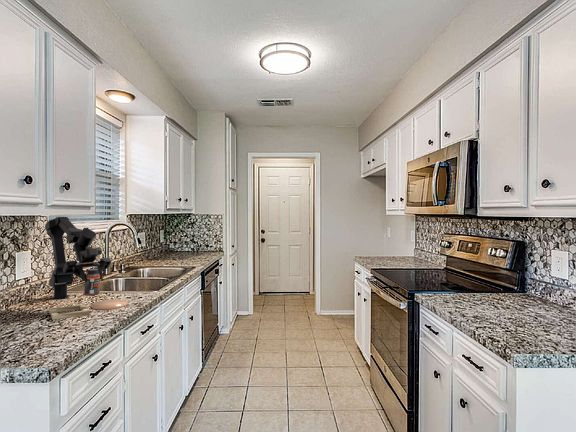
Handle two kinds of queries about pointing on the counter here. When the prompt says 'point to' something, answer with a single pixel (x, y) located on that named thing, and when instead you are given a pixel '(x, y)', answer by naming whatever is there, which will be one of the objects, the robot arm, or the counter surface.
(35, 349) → the counter surface
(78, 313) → the birch collar
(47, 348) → the counter surface
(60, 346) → the counter surface
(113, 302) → the terracotta pad
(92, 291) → the supplement bottle
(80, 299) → the counter surface
